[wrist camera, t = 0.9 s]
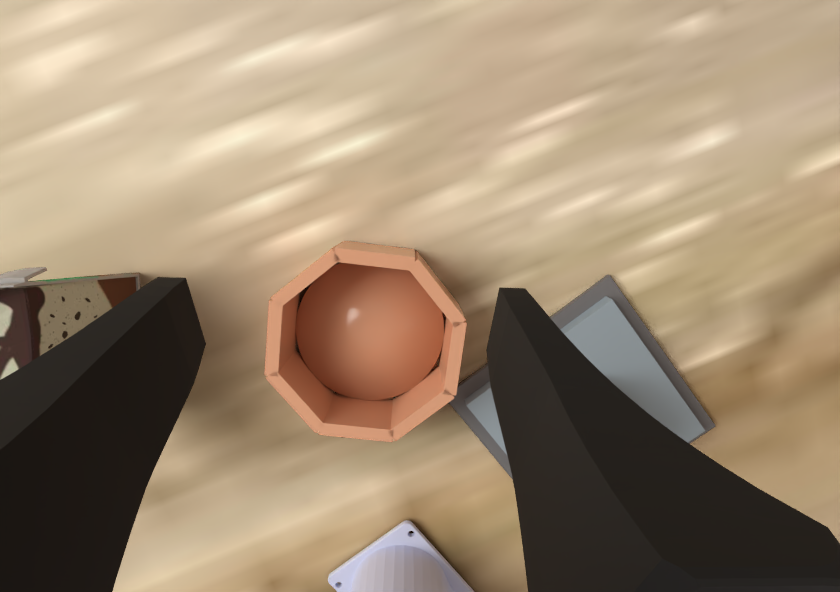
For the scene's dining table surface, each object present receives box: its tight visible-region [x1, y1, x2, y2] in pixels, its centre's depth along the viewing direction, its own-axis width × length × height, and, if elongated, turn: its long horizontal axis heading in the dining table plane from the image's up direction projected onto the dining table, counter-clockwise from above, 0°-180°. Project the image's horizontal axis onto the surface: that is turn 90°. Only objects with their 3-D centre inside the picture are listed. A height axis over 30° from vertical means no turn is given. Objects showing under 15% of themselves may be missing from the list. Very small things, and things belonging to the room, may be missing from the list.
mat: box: [449, 275, 715, 479], centre depth 34 cm, size 14×14×1 cm
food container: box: [0, 267, 140, 380], centre depth 27 cm, size 12×6×10 cm, turn 177°
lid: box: [465, 296, 705, 455], centre depth 31 cm, size 12×12×5 cm
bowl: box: [264, 241, 467, 442], centre depth 30 cm, size 12×12×4 cm
